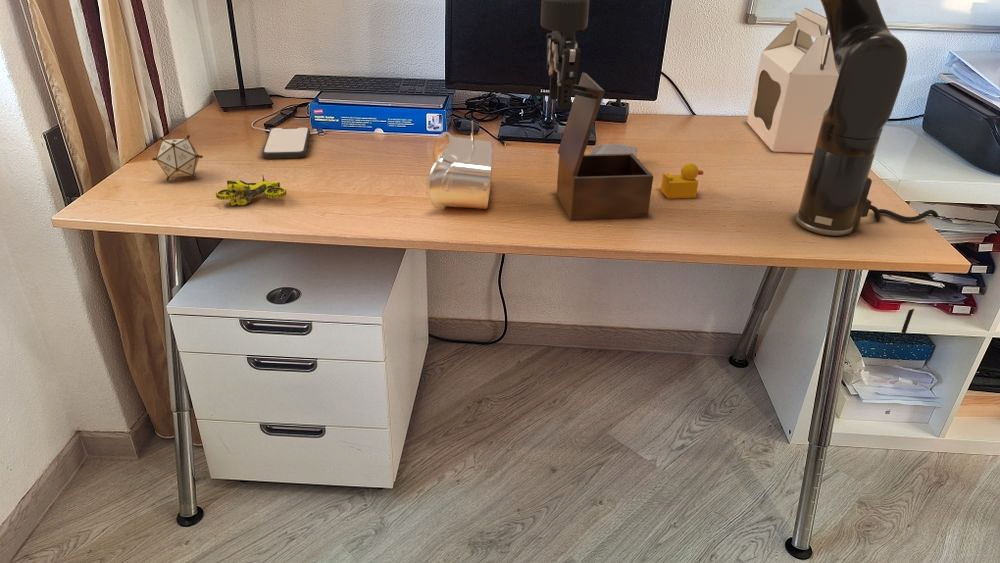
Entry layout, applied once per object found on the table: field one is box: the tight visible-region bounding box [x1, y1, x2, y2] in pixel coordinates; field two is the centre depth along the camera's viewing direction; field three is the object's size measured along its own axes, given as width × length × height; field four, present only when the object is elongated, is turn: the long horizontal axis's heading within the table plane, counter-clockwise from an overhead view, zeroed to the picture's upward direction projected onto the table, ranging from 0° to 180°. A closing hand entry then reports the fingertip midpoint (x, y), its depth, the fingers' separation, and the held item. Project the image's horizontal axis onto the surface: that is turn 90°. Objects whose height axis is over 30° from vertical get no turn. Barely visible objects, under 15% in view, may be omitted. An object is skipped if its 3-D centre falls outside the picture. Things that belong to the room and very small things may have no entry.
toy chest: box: [556, 153, 654, 221], centre depth 129 cm, size 14×12×8 cm
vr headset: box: [425, 120, 494, 210], centre depth 130 cm, size 18×11×14 cm, turn 1°
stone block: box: [588, 142, 638, 158], centre depth 148 cm, size 12×5×10 cm
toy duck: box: [660, 162, 704, 199], centre depth 136 cm, size 7×4×6 cm, turn 99°
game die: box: [151, 134, 204, 182], centre depth 135 cm, size 9×8×10 cm
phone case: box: [261, 126, 311, 160], centre depth 154 cm, size 9×2×16 cm
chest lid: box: [556, 72, 606, 176], centre depth 122 cm, size 15×12×6 cm
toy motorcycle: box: [215, 174, 288, 206], centre depth 128 cm, size 12×4×7 cm
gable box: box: [746, 7, 839, 154], centre depth 163 cm, size 22×13×28 cm, turn 178°
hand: (559, 102), depth 121 cm, fingers closed on chest lid, 5 cm apart
